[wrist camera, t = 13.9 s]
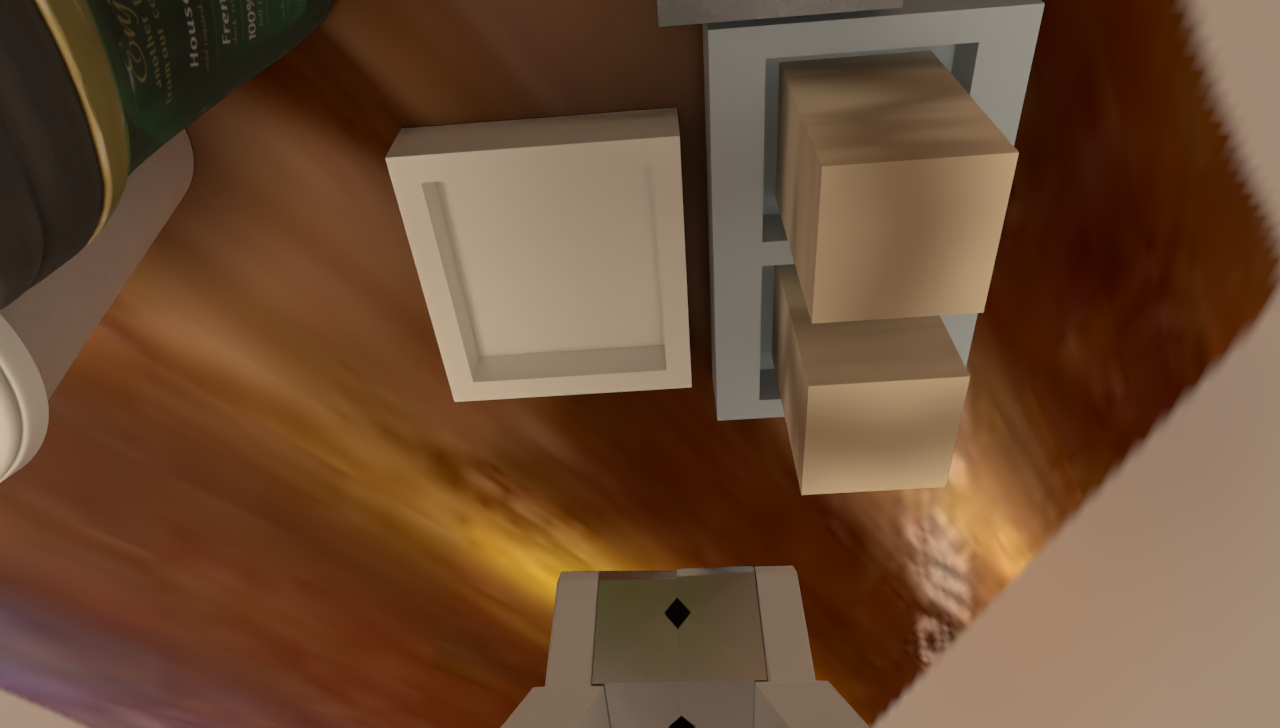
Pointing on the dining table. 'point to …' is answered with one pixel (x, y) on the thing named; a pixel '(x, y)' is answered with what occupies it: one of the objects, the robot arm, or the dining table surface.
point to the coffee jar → (111, 104)
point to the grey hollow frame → (747, 152)
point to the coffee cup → (79, 300)
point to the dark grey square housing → (756, 9)
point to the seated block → (865, 396)
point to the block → (889, 187)
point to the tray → (550, 251)
